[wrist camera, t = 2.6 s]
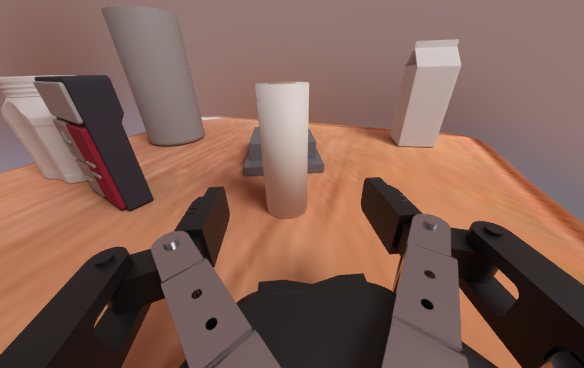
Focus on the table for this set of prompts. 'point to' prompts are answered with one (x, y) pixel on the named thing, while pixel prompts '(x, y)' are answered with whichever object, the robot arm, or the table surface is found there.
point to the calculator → (96, 135)
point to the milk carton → (425, 92)
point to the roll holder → (255, 162)
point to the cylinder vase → (157, 72)
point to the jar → (38, 129)
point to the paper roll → (284, 145)
